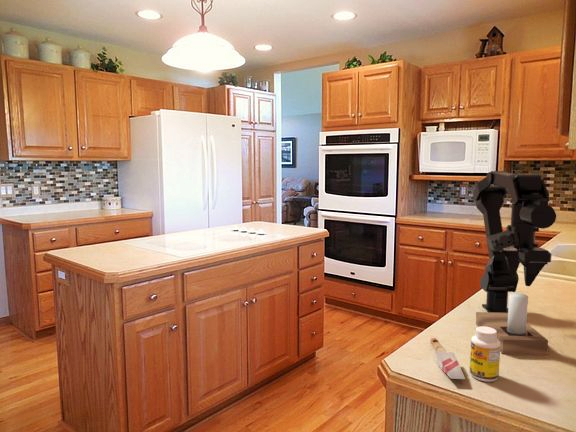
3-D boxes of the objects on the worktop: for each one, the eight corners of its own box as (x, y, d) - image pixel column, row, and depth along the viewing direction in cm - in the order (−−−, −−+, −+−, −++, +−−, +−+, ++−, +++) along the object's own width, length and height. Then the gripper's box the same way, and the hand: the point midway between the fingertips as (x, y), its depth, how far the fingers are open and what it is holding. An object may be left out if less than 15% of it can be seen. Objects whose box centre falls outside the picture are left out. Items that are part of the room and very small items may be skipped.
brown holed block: (475, 324, 119) (476, 312, 118) (513, 325, 118) (514, 312, 117) (502, 353, 101) (503, 339, 100) (547, 354, 100) (548, 340, 100)
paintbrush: (448, 371, 87) (426, 335, 107) (447, 384, 87) (426, 346, 107) (468, 372, 87) (442, 335, 106) (467, 385, 87) (442, 346, 107)
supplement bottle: (464, 371, 93) (466, 325, 92) (487, 368, 94) (489, 323, 93) (480, 384, 88) (482, 336, 86) (504, 381, 89) (507, 333, 87)
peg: (503, 341, 108) (505, 292, 106) (520, 341, 107) (523, 292, 106) (510, 348, 104) (513, 298, 102) (528, 349, 103) (531, 298, 102)
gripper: (478, 217, 122) (475, 271, 124) (505, 228, 104) (502, 291, 106) (519, 217, 121) (516, 271, 123) (554, 228, 103) (550, 291, 105)
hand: (519, 280), depth 114 cm, fingers open, 9 cm apart
